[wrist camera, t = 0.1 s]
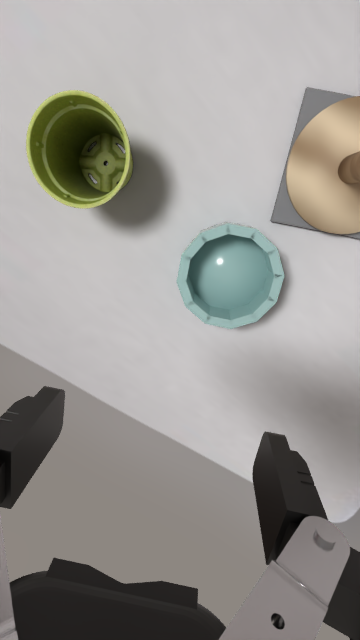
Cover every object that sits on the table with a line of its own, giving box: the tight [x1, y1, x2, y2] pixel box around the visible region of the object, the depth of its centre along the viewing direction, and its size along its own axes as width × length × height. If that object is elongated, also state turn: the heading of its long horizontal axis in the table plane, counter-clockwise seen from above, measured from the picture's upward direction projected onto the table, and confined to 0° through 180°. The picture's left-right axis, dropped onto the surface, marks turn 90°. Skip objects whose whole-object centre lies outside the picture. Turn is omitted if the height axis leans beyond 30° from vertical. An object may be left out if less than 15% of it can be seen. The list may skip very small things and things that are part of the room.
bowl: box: [177, 222, 284, 329], centre depth 37 cm, size 11×11×5 cm
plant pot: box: [26, 90, 133, 209], centre depth 33 cm, size 9×9×9 cm
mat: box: [271, 87, 360, 239], centre depth 35 cm, size 13×13×1 cm
